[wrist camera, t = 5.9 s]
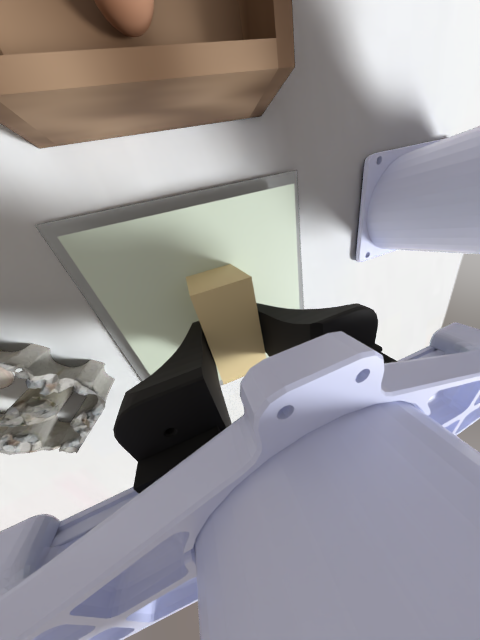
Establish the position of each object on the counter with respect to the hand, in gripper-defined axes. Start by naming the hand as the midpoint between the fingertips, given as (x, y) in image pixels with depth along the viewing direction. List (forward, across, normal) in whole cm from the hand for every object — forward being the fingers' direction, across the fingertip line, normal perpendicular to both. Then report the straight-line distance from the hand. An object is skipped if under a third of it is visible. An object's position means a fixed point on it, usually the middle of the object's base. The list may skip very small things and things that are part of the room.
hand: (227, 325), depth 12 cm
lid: (+2, 0, -1) cm, 2 cm away
